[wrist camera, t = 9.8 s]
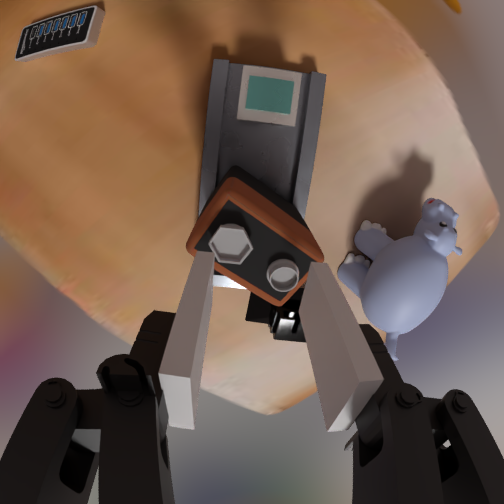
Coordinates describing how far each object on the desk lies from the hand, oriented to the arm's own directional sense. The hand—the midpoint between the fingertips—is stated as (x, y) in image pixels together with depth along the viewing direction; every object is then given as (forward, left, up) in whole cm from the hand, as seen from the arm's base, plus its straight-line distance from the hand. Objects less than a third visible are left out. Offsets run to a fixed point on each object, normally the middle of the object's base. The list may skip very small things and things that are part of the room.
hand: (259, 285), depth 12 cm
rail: (-2, 0, -15) cm, 15 cm away
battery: (0, 0, -12) cm, 12 cm away
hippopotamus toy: (+4, +16, -15) cm, 22 cm away
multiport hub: (-17, -22, -15) cm, 32 cm away
